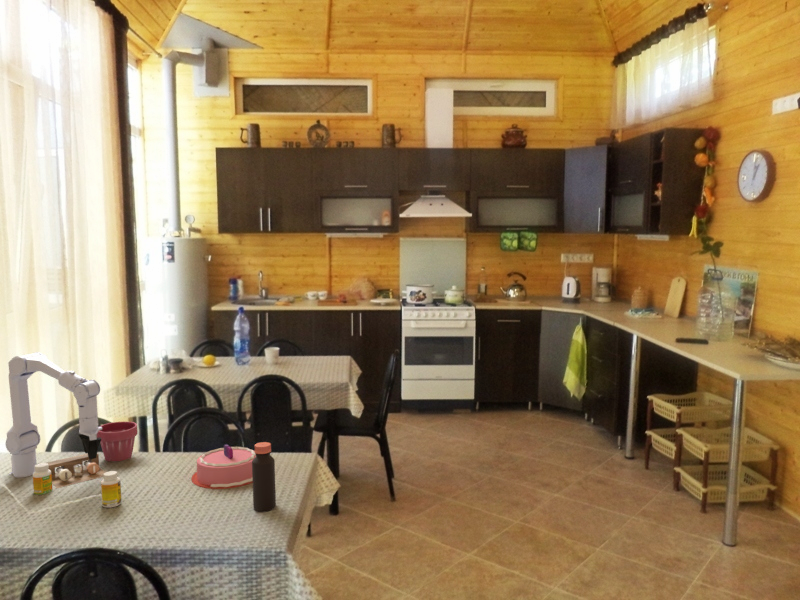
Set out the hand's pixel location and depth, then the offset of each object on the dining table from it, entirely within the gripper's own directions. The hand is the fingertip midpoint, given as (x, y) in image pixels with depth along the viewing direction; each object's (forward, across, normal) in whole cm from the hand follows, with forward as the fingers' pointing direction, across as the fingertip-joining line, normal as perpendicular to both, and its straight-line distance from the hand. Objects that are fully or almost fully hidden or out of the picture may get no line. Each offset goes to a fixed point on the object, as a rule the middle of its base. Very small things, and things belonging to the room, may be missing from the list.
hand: (90, 455), depth 216 cm
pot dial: (+9, +7, +3) cm, 11 cm away
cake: (+10, -21, -40) cm, 47 cm away
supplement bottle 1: (+10, -1, +15) cm, 18 cm away
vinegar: (+10, -55, -39) cm, 68 cm away
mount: (+10, +9, +4) cm, 13 cm away
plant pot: (+10, +20, -12) cm, 26 cm away
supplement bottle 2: (+10, -24, -2) cm, 26 cm away
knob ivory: (+8, +8, +8) cm, 14 cm away
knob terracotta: (+8, +9, -1) cm, 12 cm away
